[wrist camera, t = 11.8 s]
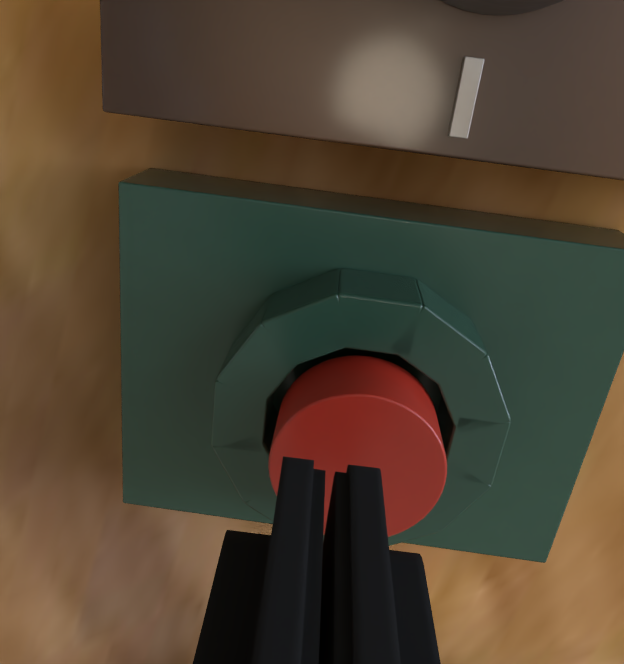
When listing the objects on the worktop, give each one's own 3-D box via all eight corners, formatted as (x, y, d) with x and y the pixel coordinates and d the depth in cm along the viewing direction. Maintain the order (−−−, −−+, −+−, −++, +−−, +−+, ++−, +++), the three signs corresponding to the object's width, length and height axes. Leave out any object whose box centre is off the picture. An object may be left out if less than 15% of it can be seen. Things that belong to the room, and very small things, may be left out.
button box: (147, 457, 19) (96, 550, 15) (149, 167, 15) (83, 196, 11) (525, 510, 18) (567, 618, 15) (619, 229, 15) (704, 280, 11)
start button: (271, 478, 14) (261, 529, 13) (287, 344, 13) (276, 382, 11) (419, 498, 14) (427, 553, 13) (452, 366, 13) (465, 408, 11)
